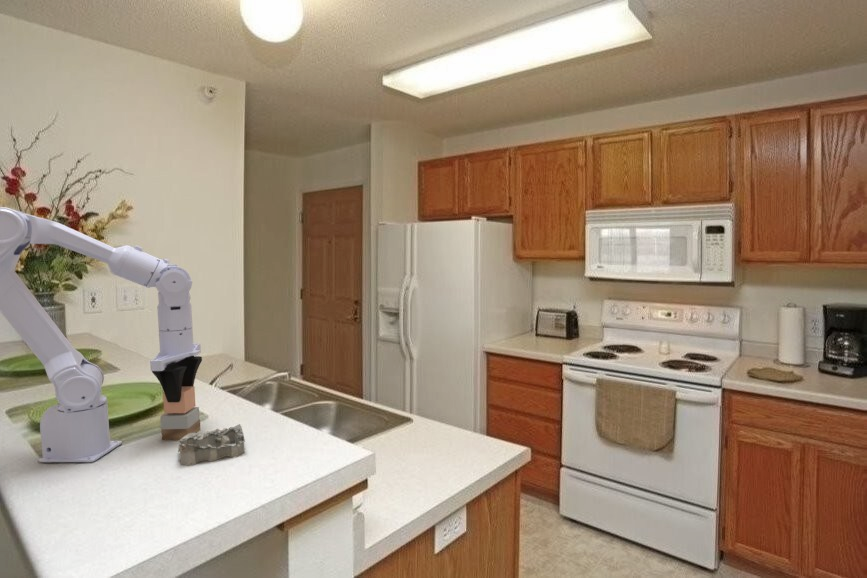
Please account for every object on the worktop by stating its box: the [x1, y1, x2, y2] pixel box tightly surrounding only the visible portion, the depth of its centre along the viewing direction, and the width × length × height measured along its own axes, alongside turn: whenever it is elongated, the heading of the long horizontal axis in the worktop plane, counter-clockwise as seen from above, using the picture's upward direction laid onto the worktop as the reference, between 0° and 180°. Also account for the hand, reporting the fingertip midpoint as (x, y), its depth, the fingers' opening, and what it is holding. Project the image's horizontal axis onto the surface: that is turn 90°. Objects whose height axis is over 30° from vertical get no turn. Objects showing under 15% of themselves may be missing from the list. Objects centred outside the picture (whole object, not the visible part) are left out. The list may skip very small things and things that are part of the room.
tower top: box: [159, 406, 201, 430], centre depth 95 cm, size 5×5×2 cm
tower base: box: [160, 418, 201, 441], centre depth 95 cm, size 5×5×2 cm
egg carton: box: [177, 423, 246, 466], centre depth 87 cm, size 11×8×4 cm
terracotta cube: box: [162, 386, 197, 414], centre depth 94 cm, size 4×4×4 cm
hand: (179, 398), depth 94 cm, fingers closed on terracotta cube, 4 cm apart
